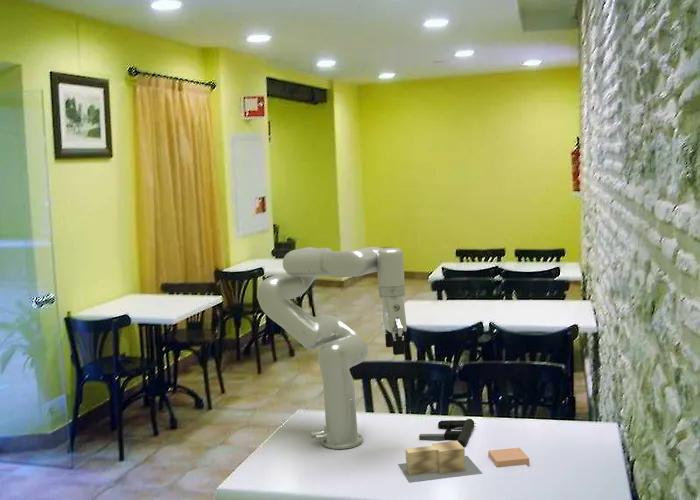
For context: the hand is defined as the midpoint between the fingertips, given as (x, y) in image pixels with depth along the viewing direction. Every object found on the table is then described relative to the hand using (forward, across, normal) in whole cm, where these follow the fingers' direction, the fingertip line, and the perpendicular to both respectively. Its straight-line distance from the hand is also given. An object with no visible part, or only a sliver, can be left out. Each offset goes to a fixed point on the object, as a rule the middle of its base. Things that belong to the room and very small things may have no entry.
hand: (395, 350), depth 212 cm
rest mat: (+30, -16, -7) cm, 35 cm away
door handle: (+31, +8, -17) cm, 36 cm away
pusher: (+30, -16, -6) cm, 34 cm away
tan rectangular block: (+29, -16, -22) cm, 40 cm away
